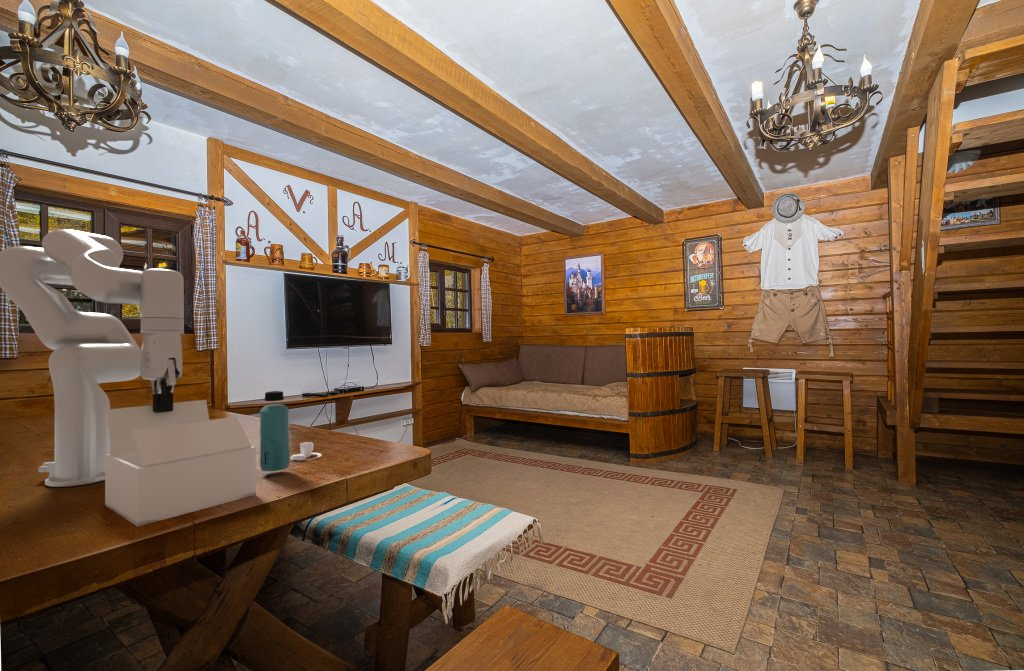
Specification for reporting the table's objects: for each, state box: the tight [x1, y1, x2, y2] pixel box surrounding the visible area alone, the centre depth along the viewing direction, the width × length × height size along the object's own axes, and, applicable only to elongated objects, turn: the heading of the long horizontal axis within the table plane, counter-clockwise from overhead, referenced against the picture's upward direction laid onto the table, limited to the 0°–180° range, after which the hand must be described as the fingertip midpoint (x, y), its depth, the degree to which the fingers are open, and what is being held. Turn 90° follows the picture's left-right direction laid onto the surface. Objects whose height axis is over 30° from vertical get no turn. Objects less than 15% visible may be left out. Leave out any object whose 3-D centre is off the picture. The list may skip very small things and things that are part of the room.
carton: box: [104, 445, 257, 528], centre depth 94 cm, size 20×18×10 cm
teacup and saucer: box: [290, 441, 323, 461], centre depth 129 cm, size 9×8×4 cm
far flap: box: [106, 399, 210, 454], centre depth 101 cm, size 18×9×1 cm
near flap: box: [132, 416, 252, 468], centre depth 91 cm, size 18×8×1 cm
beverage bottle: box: [259, 390, 291, 472], centre depth 112 cm, size 6×7×20 cm
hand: (163, 411), depth 100 cm, fingers closed
